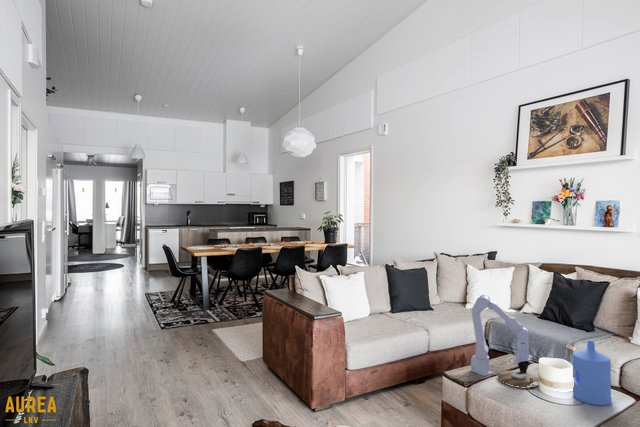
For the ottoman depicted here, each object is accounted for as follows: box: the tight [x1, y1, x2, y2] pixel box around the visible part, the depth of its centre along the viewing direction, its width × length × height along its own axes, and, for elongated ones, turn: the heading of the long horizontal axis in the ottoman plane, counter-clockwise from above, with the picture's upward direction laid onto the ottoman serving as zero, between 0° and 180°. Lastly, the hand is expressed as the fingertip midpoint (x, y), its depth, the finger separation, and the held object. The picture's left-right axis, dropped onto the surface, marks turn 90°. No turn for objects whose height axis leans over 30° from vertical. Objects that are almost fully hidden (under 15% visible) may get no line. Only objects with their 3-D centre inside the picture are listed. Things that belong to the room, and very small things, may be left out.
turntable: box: [497, 370, 539, 387], centre depth 220 cm, size 20×20×4 cm
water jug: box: [572, 340, 612, 407], centre depth 198 cm, size 16×16×28 cm
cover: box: [511, 370, 526, 380], centre depth 220 cm, size 7×7×3 cm
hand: (523, 374), depth 222 cm, fingers closed
